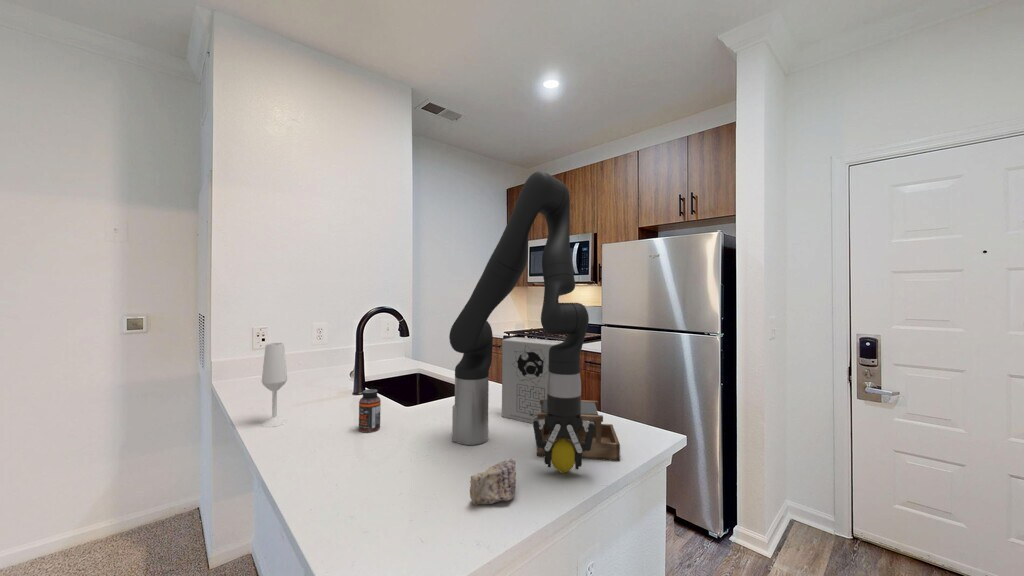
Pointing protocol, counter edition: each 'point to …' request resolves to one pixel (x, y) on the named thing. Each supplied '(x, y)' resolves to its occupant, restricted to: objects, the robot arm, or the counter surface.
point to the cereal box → (524, 376)
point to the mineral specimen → (494, 484)
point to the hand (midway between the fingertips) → (563, 466)
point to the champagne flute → (274, 377)
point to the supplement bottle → (369, 411)
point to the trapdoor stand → (602, 442)
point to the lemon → (563, 455)
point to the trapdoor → (586, 408)
